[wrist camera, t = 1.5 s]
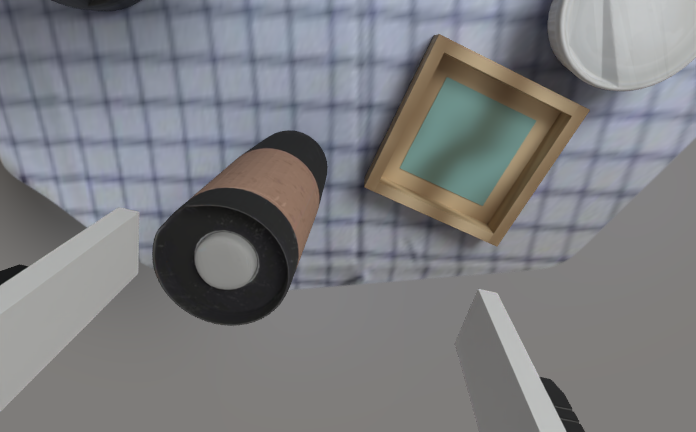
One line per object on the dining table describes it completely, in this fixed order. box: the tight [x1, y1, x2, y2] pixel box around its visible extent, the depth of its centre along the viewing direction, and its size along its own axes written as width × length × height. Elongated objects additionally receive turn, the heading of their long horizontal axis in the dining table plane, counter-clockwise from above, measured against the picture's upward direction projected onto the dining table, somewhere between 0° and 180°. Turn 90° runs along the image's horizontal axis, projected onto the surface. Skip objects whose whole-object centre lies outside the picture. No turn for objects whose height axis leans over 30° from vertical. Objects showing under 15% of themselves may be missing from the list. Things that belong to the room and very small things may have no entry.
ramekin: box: [548, 0, 696, 91], centre depth 31 cm, size 11×11×5 cm
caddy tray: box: [364, 34, 590, 246], centre depth 36 cm, size 14×14×3 cm
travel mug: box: [152, 131, 327, 325], centre depth 30 cm, size 8×8×20 cm
